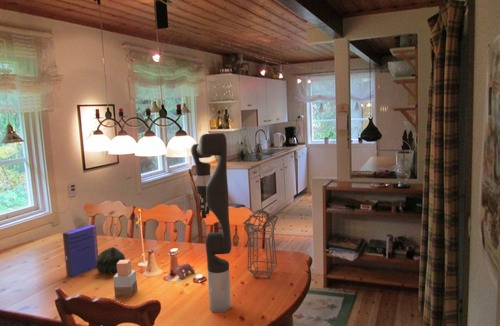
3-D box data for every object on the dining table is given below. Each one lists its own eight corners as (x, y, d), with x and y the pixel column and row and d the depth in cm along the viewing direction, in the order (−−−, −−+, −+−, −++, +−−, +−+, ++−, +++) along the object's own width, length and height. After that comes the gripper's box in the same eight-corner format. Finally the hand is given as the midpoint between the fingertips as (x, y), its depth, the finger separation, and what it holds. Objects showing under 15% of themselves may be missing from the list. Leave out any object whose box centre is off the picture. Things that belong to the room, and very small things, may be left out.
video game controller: (190, 274, 220) (186, 262, 221) (196, 272, 217) (191, 260, 218) (177, 281, 212) (172, 268, 213) (182, 279, 209) (177, 266, 211)
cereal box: (93, 265, 236) (90, 224, 233) (99, 266, 234) (95, 225, 231) (66, 275, 222) (62, 232, 219) (72, 277, 219) (68, 233, 216)
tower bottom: (131, 297, 192) (130, 287, 192) (115, 297, 193) (114, 287, 192) (137, 289, 200) (136, 280, 200) (121, 290, 201) (120, 280, 200)
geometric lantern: (280, 270, 217) (278, 206, 211) (273, 283, 202) (272, 214, 196) (251, 268, 221) (249, 205, 216) (243, 280, 206) (240, 213, 201)
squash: (96, 258, 230) (95, 244, 220) (124, 255, 236) (124, 241, 225) (97, 282, 222) (96, 268, 211) (125, 278, 227) (126, 264, 216)
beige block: (128, 275, 192) (127, 263, 192) (117, 276, 193) (116, 263, 192) (131, 271, 197) (130, 259, 197) (121, 271, 198) (120, 259, 197)
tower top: (130, 287, 192) (129, 276, 191) (114, 287, 192) (113, 277, 192) (136, 280, 200) (135, 270, 199) (120, 280, 200) (119, 270, 199)
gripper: (208, 186, 195) (210, 219, 197) (213, 181, 209) (215, 212, 211) (193, 186, 196) (195, 219, 198) (199, 181, 210) (200, 212, 212)
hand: (205, 216), depth 204 cm, fingers open, 8 cm apart
